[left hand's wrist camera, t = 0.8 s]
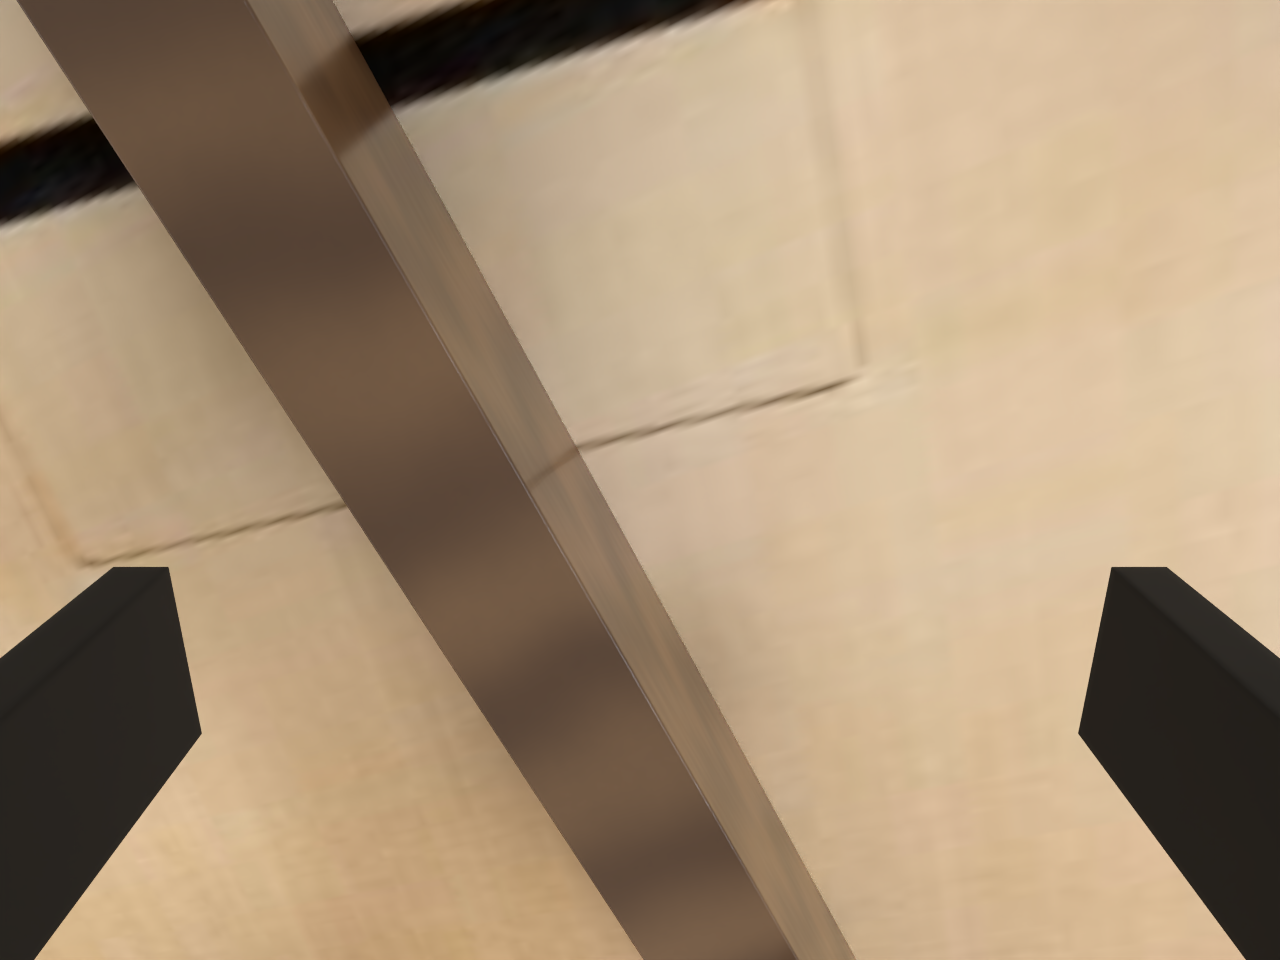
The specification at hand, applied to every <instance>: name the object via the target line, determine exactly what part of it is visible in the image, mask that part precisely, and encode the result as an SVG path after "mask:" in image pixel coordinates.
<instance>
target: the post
mask: <svg viewBox="0 0 1280 960" xmlns="http://www.w3.org/2000/svg"><path fill="white" fill-rule="evenodd" d="M17 2H18V3H19V5H20V6H21V8H22V9H23V11H24V12H25V14H26V15H27V17H28V18H29V20H30V22H31V23H32V25H33V26H34V28H35V29H36V31H37V32H38V34H39V35H40V37H41V38H42V40H43V41H44V43H45V45H46V46H47V48H48V49H49V51H50V52H51V54H52V55H53V57H54V58H55V60H56V61H57V63H58V64H59V66H60V67H61V69H62V71H63V72H64V74H65V75H66V77H67V78H68V80H69V81H70V83H71V84H72V86H73V87H74V89H75V90H76V92H77V93H78V95H79V97H80V98H81V100H82V101H83V103H84V104H85V106H86V107H87V109H88V110H89V112H90V113H91V115H92V116H93V118H94V119H95V121H96V123H97V124H98V126H99V127H100V129H101V130H102V132H103V133H104V135H105V136H106V138H107V139H108V141H109V142H110V144H111V145H112V147H113V149H114V150H115V152H116V153H117V155H118V156H119V158H120V159H121V161H122V162H123V164H124V165H125V167H126V168H127V170H128V171H129V173H130V175H131V176H132V178H133V179H134V181H135V182H136V184H137V185H138V187H139V188H140V190H141V191H142V193H143V194H144V196H145V197H146V199H147V201H148V202H149V204H150V205H151V207H152V208H153V210H154V211H155V213H156V214H157V216H158V217H159V219H160V220H161V222H162V223H163V225H164V227H165V228H166V230H167V231H168V233H169V234H170V236H171V237H172V239H173V240H174V242H175V243H176V245H177V246H178V248H179V250H180V251H181V253H182V254H183V256H184V257H185V259H186V260H187V262H188V263H189V265H190V266H191V268H192V269H193V271H194V272H195V274H196V276H197V277H198V279H199V280H200V282H201V283H202V285H203V286H204V288H205V289H206V291H207V292H208V294H209V295H210V297H211V298H212V300H213V302H214V303H215V305H216V306H217V308H218V309H219V311H220V312H221V314H222V315H223V317H224V318H225V320H226V321H227V323H228V324H229V326H230V328H231V329H232V331H233V332H234V334H235V335H236V337H237V338H238V340H239V341H240V343H241V344H242V346H243V347H244V349H245V350H246V352H247V354H248V355H249V357H250V358H251V360H252V361H253V363H254V364H255V366H256V367H257V369H258V370H259V372H260V373H261V375H262V376H263V378H264V380H265V381H266V383H267V384H268V386H269V387H270V389H271V390H272V392H273V393H274V395H275V396H276V398H277V399H278V401H279V402H280V404H281V406H282V407H283V409H284V410H285V412H286V413H287V415H288V416H289V418H290V419H291V421H292V422H293V424H294V425H295V427H296V428H297V430H298V432H299V433H300V435H301V436H302V438H303V439H304V441H305V442H306V444H307V445H308V447H309V448H310V450H311V451H312V453H313V455H314V456H315V458H316V459H317V461H318V462H319V464H320V465H321V467H322V468H323V470H324V471H325V473H326V474H327V476H328V477H329V479H330V481H331V482H332V484H333V485H334V487H335V488H336V490H337V491H338V493H339V494H340V496H341V497H342V499H343V500H344V502H345V503H346V505H347V507H348V508H349V510H350V511H351V513H352V514H353V516H354V517H355V519H356V520H357V522H358V523H359V525H360V526H361V528H362V529H363V531H364V533H365V534H366V536H367V537H368V539H369V540H370V542H371V543H372V545H373V546H374V548H375V549H376V551H377V552H378V554H379V555H380V557H381V559H382V560H383V562H384V563H385V565H386V566H387V568H388V569H389V571H390V572H391V574H392V575H393V577H394V578H395V580H396V581H397V583H398V585H399V586H400V588H401V589H402V591H403V592H404V594H405V595H406V597H407V598H408V600H409V601H410V603H411V604H412V606H413V607H414V609H415V611H416V612H417V614H418V615H419V617H420V618H421V620H422V621H423V623H424V624H425V626H426V627H427V629H428V630H429V632H430V633H431V635H432V637H433V638H434V640H435V641H436V643H437V644H438V646H439V647H440V649H441V650H442V652H443V653H444V655H445V656H446V658H447V660H448V661H449V663H450V664H451V666H452V667H453V669H454V670H455V672H456V673H457V675H458V676H459V678H460V679H461V681H462V682H463V684H464V686H465V687H466V689H467V690H468V692H469V693H470V695H471V696H472V698H473V699H474V701H475V702H476V704H477V705H478V707H479V708H480V710H481V712H482V713H483V715H484V716H485V718H486V719H487V721H488V722H489V724H490V725H491V727H492V728H493V730H494V731H495V733H496V734H497V736H498V738H499V739H500V741H501V742H502V744H503V745H504V747H505V748H506V750H507V751H508V753H509V754H510V756H511V757H512V759H513V760H514V762H515V764H516V765H517V767H518V768H519V770H520V771H521V773H522V774H523V776H524V777H525V779H526V780H527V782H528V783H529V785H530V786H531V788H532V790H533V791H534V793H535V794H536V796H537V797H538V799H539V800H540V802H541V803H542V805H543V806H544V808H545V809H546V811H547V812H548V814H549V816H550V817H551V819H552V820H553V822H554V823H555V825H556V826H557V828H558V829H559V831H560V832H561V834H562V835H563V837H564V838H565V840H566V842H567V843H568V845H569V846H570V848H571V849H572V851H573V852H574V854H575V855H576V857H577V858H578V860H579V861H580V863H581V865H582V866H583V868H584V869H585V871H586V872H587V874H588V875H589V877H590V878H591V880H592V881H593V883H594V884H595V886H596V887H597V889H598V891H599V892H600V894H601V895H602V897H603V898H604V900H605V901H606V903H607V904H608V906H609V907H610V909H611V910H612V912H613V913H614V915H615V917H616V918H617V920H618V921H619V923H620V924H621V926H622V927H623V929H624V930H625V932H626V933H627V935H628V936H629V938H630V939H631V941H632V943H633V944H634V946H635V947H636V949H637V950H638V952H639V953H640V955H641V956H642V958H643V959H644V960H856V959H855V957H854V955H853V953H852V951H851V950H850V948H849V946H848V944H847V942H846V940H845V939H844V937H843V935H842V933H841V931H840V929H839V928H838V926H837V924H836V922H835V920H834V918H833V917H832V915H831V913H830V911H829V909H828V907H827V906H826V904H825V902H824V900H823V898H822V897H821V895H820V893H819V891H818V889H817V887H816V886H815V884H814V882H813V880H812V878H811V876H810V875H809V873H808V871H807V869H806V867H805V865H804V864H803V862H802V860H801V858H800V856H799V854H798V853H797V851H796V849H795V847H794V845H793V843H792V842H791V840H790V838H789V836H788V834H787V832H786V831H785V829H784V827H783V825H782V823H781V821H780V820H779V818H778V816H777V814H776V812H775V810H774V809H773V807H772V805H771V803H770V801H769V799H768V798H767V796H766V794H765V792H764V790H763V788H762V787H761V785H760V783H759V781H758V779H757V777H756V776H755V774H754V772H753V770H752V768H751V766H750V765H749V763H748V761H747V759H746V757H745V755H744V754H743V752H742V750H741V748H740V746H739V744H738V743H737V741H736V739H735V737H734V735H733V733H732V732H731V730H730V728H729V726H728V724H727V722H726V721H725V719H724V717H723V715H722V713H721V711H720V710H719V708H718V706H717V704H716V702H715V700H714V699H713V697H712V695H711V693H710V691H709V689H708V688H707V686H706V684H705V682H704V680H703V679H702V677H701V675H700V673H699V671H698V669H697V668H696V666H695V664H694V662H693V660H692V658H691V657H690V655H689V653H688V651H687V649H686V647H685V646H684V644H683V642H682V640H681V638H680V636H679V635H678V633H677V631H676V629H675V627H674V625H673V624H672V622H671V620H670V618H669V616H668V614H667V613H666V611H665V609H664V607H663V605H662V603H661V602H660V600H659V598H658V596H657V594H656V592H655V591H654V589H653V587H652V585H651V583H650V581H649V580H648V578H647V576H646V574H645V572H644V570H643V569H642V567H641V565H640V563H639V561H638V559H637V558H636V556H635V554H634V552H633V550H632V548H631V547H630V545H629V543H628V541H627V539H626V537H625V536H624V534H623V532H622V530H621V528H620V526H619V525H618V523H617V521H616V519H615V517H614V515H613V514H612V512H611V510H610V508H609V506H608V504H607V503H606V501H605V499H604V497H603V495H602V493H601V492H600V490H599V488H598V486H597V484H596V482H595V481H594V479H593V477H592V475H591V473H590V471H589V470H588V468H587V466H586V464H585V462H584V461H583V459H582V457H581V455H580V453H579V451H578V450H577V448H576V446H575V444H574V442H573V440H572V439H571V437H570V435H569V433H568V431H567V429H566V428H565V426H564V424H563V422H562V420H561V418H560V417H559V415H558V413H557V411H556V409H555V407H554V406H553V404H552V402H551V400H550V398H549V396H548V395H547V393H546V391H545V389H544V387H543V385H542V384H541V382H540V380H539V378H538V376H537V374H536V373H535V371H534V369H533V367H532V365H531V363H530V362H529V360H528V358H527V356H526V354H525V352H524V351H523V349H522V347H521V345H520V343H519V341H518V340H517V338H516V336H515V334H514V332H513V330H512V329H511V327H510V325H509V323H508V321H507V319H506V318H505V316H504V314H503V312H502V310H501V308H500V307H499V305H498V303H497V301H496V299H495V297H494V296H493V294H492V292H491V290H490V288H489V286H488V285H487V283H486V281H485V279H484V277H483V275H482V274H481V272H480V270H479V268H478V266H477V264H476V263H475V261H474V259H473V257H472V255H471V253H470V252H469V250H468V248H467V246H466V244H465V243H464V241H463V239H462V237H461V235H460V233H459V232H458V230H457V228H456V226H455V224H454V222H453V221H452V219H451V217H450V215H449V213H448V211H447V210H446V208H445V206H444V204H443V202H442V200H441V199H440V197H439V195H438V193H437V191H436V189H435V188H434V186H433V184H432V182H431V180H430V178H429V177H428V175H427V173H426V171H425V169H424V167H423V166H422V164H421V162H420V160H419V158H418V156H417V155H416V153H415V151H414V149H413V147H412V145H411V144H410V142H409V140H408V138H407V136H406V134H405V133H404V131H403V129H402V127H401V125H400V123H399V122H398V120H397V118H396V116H395V114H394V112H393V111H392V109H391V107H390V105H389V103H388V101H387V100H386V98H385V96H384V94H383V92H382V90H381V89H380V87H379V85H378V83H377V81H376V79H375V78H374V76H373V74H372V72H371V70H370V68H369V67H368V65H367V63H366V61H365V59H364V57H363V56H362V54H361V52H360V50H359V48H358V46H357V45H356V43H355V41H354V39H353V37H352V35H351V34H350V32H349V30H348V28H347V26H346V25H345V23H344V21H343V19H342V17H341V15H340V14H339V12H338V10H337V8H336V6H335V4H334V3H333V1H332V0H17Z"/></svg>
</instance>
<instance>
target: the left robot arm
mask: <svg viewBox="0 0 1280 960" xmlns="http://www.w3.org/2000/svg"><path fill="white" fill-rule="evenodd" d="M201 734H202V732H201V727H200V722H199V717H198V712H197V707H196V702H195V697H194V692H193V687H192V682H191V677H190V672H189V667H188V662H187V657H186V652H185V647H184V642H183V637H182V632H181V627H180V622H179V617H178V613H177V608H176V603H175V598H174V593H173V588H172V583H171V578H170V573H169V568H168V567H113V568H112V569H110V570H109V571H108V572H107V573H105V574H104V575H103V576H102V577H100V578H99V579H98V580H97V581H95V582H94V583H93V584H92V585H91V586H89V587H88V588H87V589H86V590H84V591H83V592H82V593H81V594H79V595H78V596H77V597H76V598H74V599H73V600H72V601H71V602H69V603H68V604H67V605H66V606H65V607H63V608H62V609H61V610H60V611H58V612H57V613H56V614H55V615H53V616H52V617H51V618H50V619H48V620H47V621H46V622H45V623H43V624H42V625H41V626H40V627H39V628H37V629H36V630H35V631H34V632H32V633H31V634H30V635H29V636H27V637H26V638H25V639H24V640H22V641H21V642H20V643H19V644H17V645H16V646H15V647H14V648H12V649H11V650H10V651H9V652H8V653H6V654H5V655H4V656H3V657H1V658H0V960H34V959H35V958H36V956H37V955H38V954H39V952H40V951H41V950H42V948H43V947H44V946H45V944H46V943H47V942H48V940H49V939H50V938H51V936H52V935H53V934H54V932H55V931H56V929H57V928H58V927H59V925H60V924H61V923H62V921H63V920H64V919H65V917H66V916H67V915H68V913H69V912H70V911H71V909H72V908H73V907H74V905H75V904H76V902H77V901H78V900H79V898H80V897H81V896H82V894H83V893H84V892H85V890H86V889H87V888H88V886H89V885H90V884H91V882H92V881H93V880H94V878H95V877H96V876H97V874H98V873H99V871H100V870H101V869H102V867H103V866H104V865H105V863H106V862H107V861H108V859H109V858H110V857H111V855H112V854H113V853H114V851H115V850H116V849H117V847H118V846H119V844H120V843H121V842H122V840H123V839H124V838H125V836H126V835H127V834H128V832H129V831H130V830H131V828H132V827H133V826H134V824H135V823H136V822H137V820H138V819H139V817H140V816H141V815H142V813H143V812H144V811H145V809H146V808H147V807H148V805H149V804H150V803H151V801H152V800H153V799H154V797H155V796H156V795H157V793H158V792H159V790H160V789H161V788H162V786H163V785H164V784H165V782H166V781H167V780H168V778H169V777H170V776H171V774H172V773H173V772H174V770H175V769H176V768H177V766H178V765H179V763H180V762H181V761H182V759H183V758H184V757H185V755H186V754H187V753H188V751H189V750H190V749H191V747H192V746H193V745H194V743H195V742H196V741H197V739H198V738H199V736H200V735H201ZM1078 734H1079V735H1080V736H1081V738H1082V739H1083V741H1084V742H1085V743H1086V745H1087V746H1088V747H1089V749H1090V750H1091V751H1092V753H1093V754H1094V755H1095V757H1096V758H1097V759H1098V761H1099V762H1100V763H1101V765H1102V766H1103V768H1104V769H1105V770H1106V772H1107V773H1108V774H1109V776H1110V777H1111V778H1112V780H1113V781H1114V782H1115V784H1116V785H1117V786H1118V788H1119V789H1120V790H1121V792H1122V793H1123V795H1124V796H1125V797H1126V799H1127V800H1128V801H1129V803H1130V804H1131V805H1132V807H1133V808H1134V809H1135V811H1136V812H1137V813H1138V815H1139V816H1140V817H1141V819H1142V820H1143V822H1144V823H1145V824H1146V826H1147V827H1148V828H1149V830H1150V831H1151V832H1152V834H1153V835H1154V836H1155V838H1156V839H1157V840H1158V842H1159V843H1160V844H1161V846H1162V847H1163V849H1164V850H1165V851H1166V853H1167V854H1168V855H1169V857H1170V858H1171V859H1172V861H1173V862H1174V863H1175V865H1176V866H1177V867H1178V869H1179V870H1180V871H1181V873H1182V874H1183V876H1184V877H1185V878H1186V880H1187V881H1188V882H1189V884H1190V885H1191V886H1192V888H1193V889H1194V890H1195V892H1196V893H1197V894H1198V896H1199V897H1200V898H1201V900H1202V901H1203V903H1204V904H1205V905H1206V907H1207V908H1208V909H1209V911H1210V912H1211V913H1212V915H1213V916H1214V917H1215V919H1216V920H1217V921H1218V923H1219V924H1220V925H1221V927H1222V928H1223V929H1224V931H1225V932H1226V934H1227V935H1228V936H1229V938H1230V939H1231V940H1232V942H1233V943H1234V944H1235V946H1236V947H1237V948H1238V950H1239V951H1240V952H1241V954H1242V955H1243V956H1244V958H1245V959H1246V960H1280V658H1279V657H1277V656H1276V655H1275V654H1274V653H1272V652H1271V651H1270V650H1269V649H1268V648H1266V647H1265V646H1264V645H1263V644H1261V643H1260V642H1259V641H1258V640H1256V639H1255V638H1254V637H1253V636H1251V635H1250V634H1249V633H1248V632H1246V631H1245V630H1244V629H1243V628H1241V627H1240V626H1239V625H1238V624H1237V623H1235V622H1234V621H1233V620H1232V619H1230V618H1229V617H1228V616H1227V615H1225V614H1224V613H1223V612H1222V611H1220V610H1219V609H1218V608H1217V607H1215V606H1214V605H1213V604H1212V603H1211V602H1209V601H1208V600H1207V599H1206V598H1204V597H1203V596H1202V595H1201V594H1199V593H1198V592H1197V591H1196V590H1194V589H1193V588H1192V587H1191V586H1189V585H1188V584H1187V583H1186V582H1185V581H1183V580H1182V579H1181V578H1180V577H1178V576H1177V575H1176V574H1175V573H1173V572H1172V571H1171V570H1170V569H1168V568H1167V567H1112V568H1111V573H1110V578H1109V582H1108V587H1107V592H1106V597H1105V602H1104V607H1103V612H1102V617H1101V622H1100V627H1099V632H1098V637H1097V642H1096V647H1095V652H1094V657H1093V662H1092V667H1091V672H1090V677H1089V682H1088V687H1087V692H1086V697H1085V702H1084V707H1083V712H1082V717H1081V722H1080V727H1079V732H1078Z"/></svg>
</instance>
